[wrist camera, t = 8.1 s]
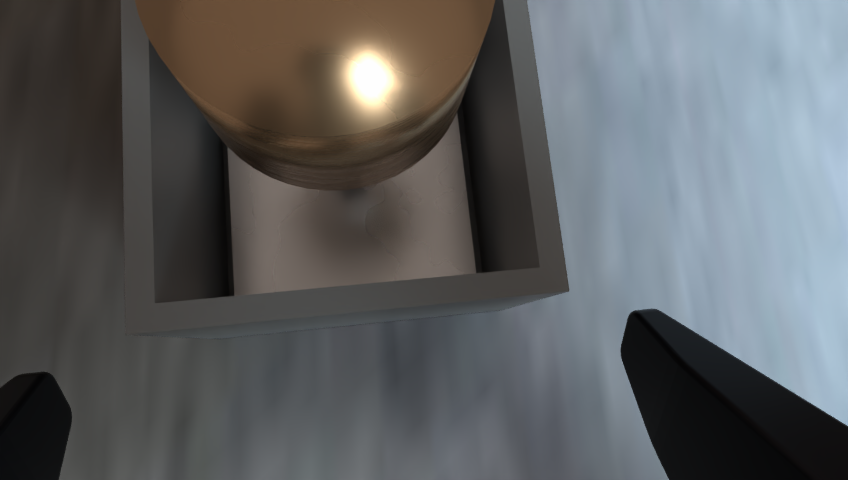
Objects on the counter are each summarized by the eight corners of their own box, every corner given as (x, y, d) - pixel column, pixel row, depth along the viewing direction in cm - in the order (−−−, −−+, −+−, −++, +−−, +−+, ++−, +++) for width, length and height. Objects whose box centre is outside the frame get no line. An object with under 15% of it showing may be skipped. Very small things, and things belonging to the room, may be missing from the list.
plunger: (472, 278, 16) (603, 190, 7) (240, 300, 15) (48, 234, 6) (447, 67, 17) (531, -249, 8) (229, 79, 16) (52, -249, 7)
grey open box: (500, 310, 17) (569, 291, 11) (216, 338, 16) (125, 335, 10) (464, 20, 18) (507, -134, 12) (204, 32, 17) (119, -126, 12)
